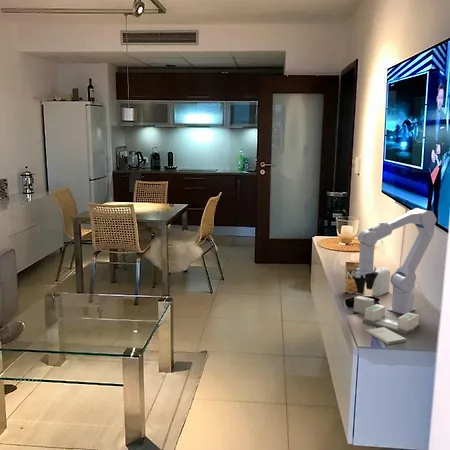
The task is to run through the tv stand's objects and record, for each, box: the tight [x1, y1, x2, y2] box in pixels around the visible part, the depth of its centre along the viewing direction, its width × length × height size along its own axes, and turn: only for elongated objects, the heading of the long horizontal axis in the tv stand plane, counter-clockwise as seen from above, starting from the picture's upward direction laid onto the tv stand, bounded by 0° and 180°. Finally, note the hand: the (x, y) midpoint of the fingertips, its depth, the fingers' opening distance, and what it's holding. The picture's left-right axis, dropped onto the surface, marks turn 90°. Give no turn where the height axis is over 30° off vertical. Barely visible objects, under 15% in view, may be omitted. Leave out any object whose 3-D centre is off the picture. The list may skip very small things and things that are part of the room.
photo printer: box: [371, 267, 391, 297], centre depth 239 cm, size 10×4×12 cm, turn 133°
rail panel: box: [362, 303, 421, 335], centre depth 200 cm, size 12×18×5 cm, turn 44°
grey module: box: [353, 295, 375, 315], centre depth 214 cm, size 4×7×6 cm, turn 44°
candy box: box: [343, 259, 366, 295], centre depth 239 cm, size 9×4×15 cm, turn 64°
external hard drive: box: [366, 327, 407, 345], centre depth 188 cm, size 2×8×12 cm
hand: (364, 291), depth 212 cm, fingers open, 7 cm apart
